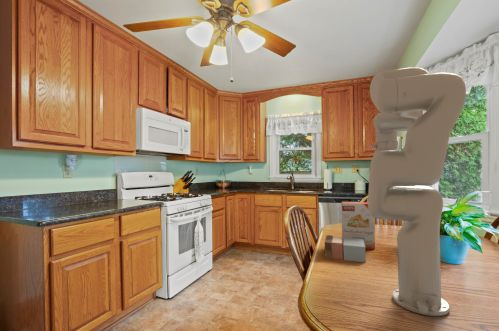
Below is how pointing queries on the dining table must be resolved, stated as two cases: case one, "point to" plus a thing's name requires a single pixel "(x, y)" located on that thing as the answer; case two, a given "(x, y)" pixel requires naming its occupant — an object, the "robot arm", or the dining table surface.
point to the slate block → (354, 249)
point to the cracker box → (358, 223)
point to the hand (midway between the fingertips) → (387, 192)
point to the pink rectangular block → (337, 247)
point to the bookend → (328, 246)
